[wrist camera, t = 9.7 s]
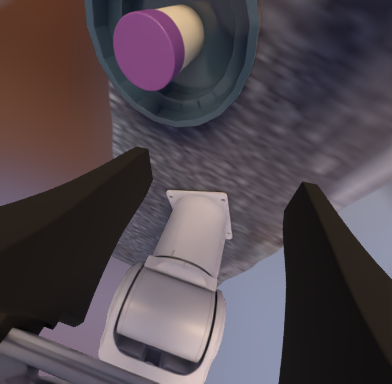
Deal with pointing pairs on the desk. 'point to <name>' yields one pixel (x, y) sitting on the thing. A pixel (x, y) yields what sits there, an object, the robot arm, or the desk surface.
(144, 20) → the glue stick
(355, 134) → the desk surface
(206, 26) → the dish
